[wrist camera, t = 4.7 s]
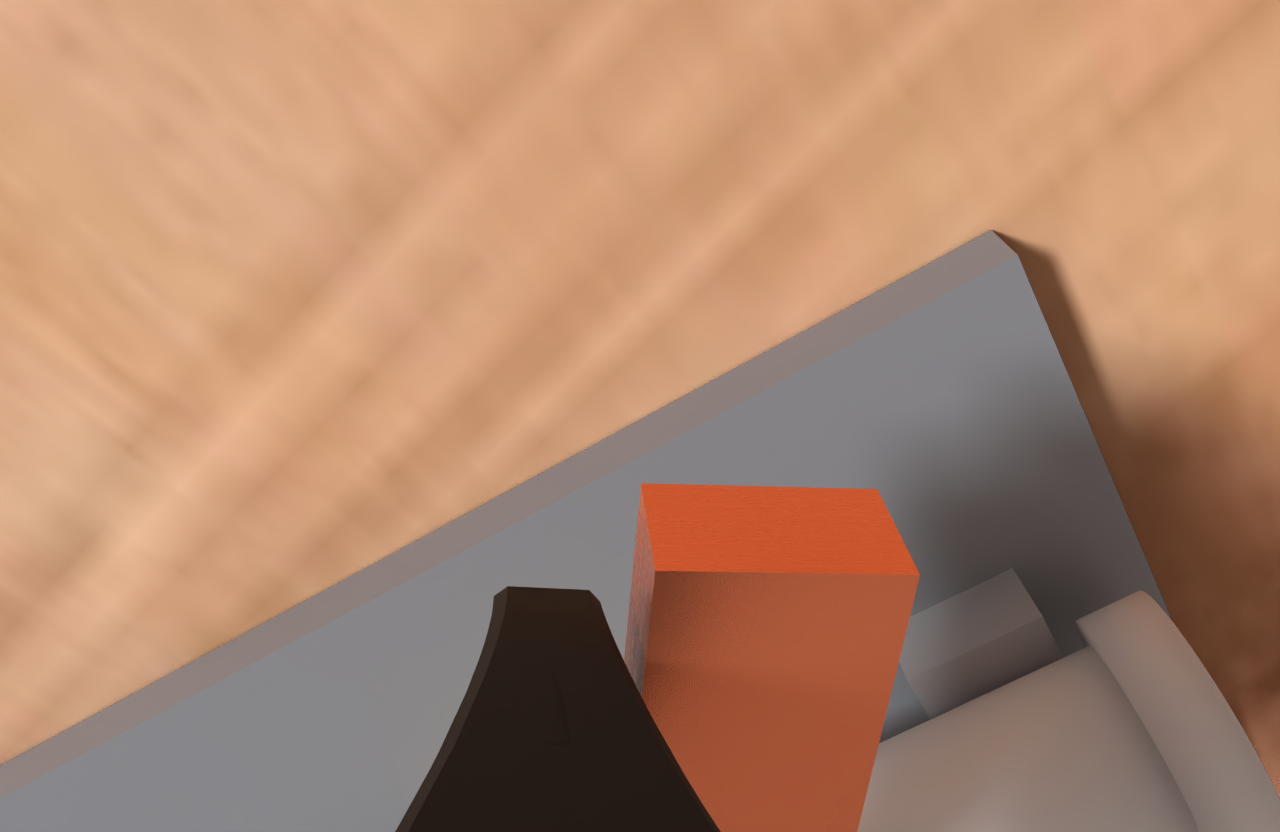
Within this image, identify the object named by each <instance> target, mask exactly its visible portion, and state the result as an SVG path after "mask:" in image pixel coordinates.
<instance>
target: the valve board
mask: <svg viewBox="0 0 1280 832" xmlns="http://www.w3.org/2000/svg"><path fill="white" fill-rule="evenodd" d="M641 483H647V484H689V485H730V486H771V487H812V488H854V489H877V490H878V492H879V494H880V496H881V498H882V500H883V502H884V504H885V506H886V508H887V510H888V512H889V514H890V516H891V518H892V520H893V522H894V524H895V526H896V528H897V530H898V532H899V534H900V536H901V538H902V540H903V542H904V544H905V546H906V548H907V550H908V552H909V554H910V556H911V558H912V560H913V562H914V564H915V566H916V568H917V570H918V572H919V574H920V577H919V582H918V586H917V590H916V594H915V598H914V602H913V606H912V610H911V614H910V618H909V622H908V627H907V631H906V635H905V639H904V643H903V647H902V651H901V655H900V659H899V663H898V667H897V672H896V676H895V680H894V684H893V688H892V692H891V696H890V700H889V704H888V708H887V712H886V717H885V721H884V725H883V729H882V733H881V737H880V741H879V745H878V749H877V753H876V757H875V762H874V766H873V770H872V774H871V778H870V782H869V786H868V790H867V794H866V798H865V802H864V806H863V811H862V815H861V819H860V823H859V827H858V831H857V832H1280V799H1279V797H1278V795H1277V792H1276V790H1275V788H1274V786H1273V784H1272V782H1271V780H1270V778H1269V776H1268V774H1267V772H1266V770H1265V768H1264V766H1263V764H1262V762H1261V760H1260V758H1259V757H1258V755H1257V753H1256V751H1255V749H1254V747H1253V746H1252V744H1251V742H1250V740H1249V738H1248V737H1247V735H1246V733H1245V731H1244V730H1243V728H1242V726H1241V724H1240V723H1239V721H1238V719H1237V718H1236V716H1235V714H1234V713H1233V711H1232V709H1231V708H1230V706H1229V704H1228V703H1227V701H1226V699H1225V698H1224V696H1223V695H1222V693H1221V691H1220V690H1219V688H1218V687H1217V685H1216V684H1215V682H1214V680H1213V679H1212V677H1211V676H1210V674H1209V673H1208V671H1207V670H1206V668H1205V667H1204V665H1203V664H1202V662H1201V661H1200V659H1199V658H1198V656H1197V655H1196V653H1195V652H1194V651H1193V649H1192V648H1191V646H1190V645H1189V643H1188V642H1187V641H1186V639H1185V638H1184V636H1183V635H1182V634H1181V632H1180V631H1179V630H1178V628H1177V627H1176V626H1175V624H1174V623H1173V621H1172V619H1171V616H1170V614H1169V612H1168V609H1167V607H1166V604H1165V602H1164V600H1163V597H1162V595H1161V593H1160V590H1159V588H1158V586H1157V583H1156V581H1155V578H1154V576H1153V574H1152V571H1151V569H1150V567H1149V564H1148V562H1147V560H1146V557H1145V555H1144V552H1143V550H1142V548H1141V545H1140V543H1139V541H1138V538H1137V536H1136V534H1135V531H1134V529H1133V526H1132V524H1131V522H1130V519H1129V517H1128V515H1127V512H1126V510H1125V507H1124V505H1123V503H1122V500H1121V498H1120V496H1119V493H1118V491H1117V489H1116V486H1115V484H1114V481H1113V479H1112V477H1111V474H1110V472H1109V470H1108V467H1107V465H1106V463H1105V460H1104V458H1103V455H1102V453H1101V451H1100V448H1099V446H1098V444H1097V441H1096V439H1095V437H1094V434H1093V432H1092V429H1091V427H1090V425H1089V422H1088V420H1087V418H1086V415H1085V413H1084V411H1083V408H1082V406H1081V403H1080V401H1079V399H1078V396H1077V394H1076V392H1075V389H1074V387H1073V384H1072V382H1071V380H1070V377H1069V375H1068V373H1067V370H1066V368H1065V366H1064V363H1063V361H1062V358H1061V356H1060V354H1059V351H1058V349H1057V347H1056V344H1055V342H1054V340H1053V337H1052V335H1051V332H1050V330H1049V328H1048V325H1047V323H1046V321H1045V318H1044V316H1043V314H1042V311H1041V309H1040V306H1039V304H1038V302H1037V299H1036V297H1035V295H1034V292H1033V290H1032V288H1031V285H1030V283H1029V280H1028V278H1027V276H1026V273H1025V271H1024V269H1023V266H1022V264H1021V261H1020V259H1019V257H1018V255H1017V254H1016V253H1015V252H1014V251H1013V250H1012V249H1011V248H1010V247H1009V246H1008V245H1007V244H1006V243H1005V242H1004V241H1003V240H1001V239H1000V238H999V237H998V236H997V235H996V234H995V233H994V232H993V231H992V230H990V231H988V232H986V233H984V234H982V235H980V236H979V237H977V238H975V239H973V240H971V241H969V242H968V243H966V244H964V245H962V246H960V247H958V248H956V249H955V250H953V251H951V252H949V253H947V254H945V255H943V256H942V257H940V258H938V259H936V260H934V261H932V262H931V263H929V264H927V265H925V266H923V267H921V268H919V269H918V270H916V271H914V272H912V273H910V274H908V275H906V276H905V277H903V278H901V279H899V280H897V281H895V282H894V283H892V284H890V285H888V286H886V287H884V288H882V289H881V290H879V291H877V292H875V293H873V294H871V295H869V296H868V297H866V298H864V299H862V300H860V301H858V302H857V303H855V304H853V305H851V306H849V307H847V308H845V309H844V310H842V311H840V312H838V313H836V314H834V315H833V316H831V317H829V318H827V319H825V320H823V321H821V322H820V323H818V324H816V325H814V326H812V327H810V328H808V329H807V330H805V331H803V332H801V333H799V334H797V335H796V336H794V337H792V338H790V339H788V340H786V341H784V342H783V343H781V344H779V345H777V346H775V347H773V348H771V349H770V350H768V351H766V352H764V353H762V354H760V355H759V356H757V357H755V358H753V359H751V360H749V361H747V362H746V363H744V364H742V365H740V366H738V367H736V368H734V369H733V370H731V371H729V372H727V373H725V374H723V375H722V376H720V377H718V378H716V379H714V380H712V381H710V382H709V383H707V384H705V385H703V386H701V387H699V388H697V389H696V390H694V391H692V392H690V393H688V394H686V395H685V396H683V397H681V398H679V399H677V400H675V401H673V402H672V403H670V404H668V405H666V406H664V407H662V408H660V409H659V410H657V411H655V412H653V413H651V414H649V415H648V416H646V417H644V418H642V419H640V420H638V421H636V422H635V423H633V424H631V425H629V426H627V427H625V428H624V429H622V430H620V431H618V432H616V433H614V434H612V435H611V436H609V437H607V438H605V439H603V440H601V441H599V442H598V443H596V444H594V445H592V446H590V447H588V448H587V449H585V450H583V451H581V452H579V453H577V454H575V455H574V456H572V457H570V458H568V459H566V460H564V461H562V462H561V463H559V464H557V465H555V466H553V467H551V468H550V469H548V470H546V471H544V472H542V473H540V474H538V475H537V476H535V477H533V478H531V479H529V480H527V481H525V482H524V483H522V484H520V485H518V486H516V487H514V488H513V489H511V490H509V491H507V492H505V493H503V494H501V495H500V496H498V497H496V498H494V499H492V500H490V501H488V502H487V503H485V504H483V505H481V506H479V507H477V508H476V509H474V510H472V511H470V512H468V513H466V514H464V515H463V516H461V517H459V518H457V519H455V520H453V521H451V522H450V523H448V524H446V525H444V526H442V527H440V528H439V529H437V530H435V531H433V532H431V533H429V534H427V535H426V536H424V537H422V538H420V539H418V540H416V541H414V542H413V543H411V544H409V545H407V546H405V547H403V548H402V549H400V550H398V551H396V552H394V553H392V554H390V555H389V556H387V557H385V558H383V559H381V560H379V561H378V562H376V563H374V564H372V565H370V566H368V567H366V568H365V569H363V570H361V571H359V572H357V573H355V574H353V575H352V576H350V577H348V578H346V579H344V580H342V581H341V582H339V583H337V584H335V585H333V586H331V587H329V588H328V589H326V590H324V591H322V592H320V593H318V594H316V595H315V596H313V597H311V598H309V599H307V600H305V601H304V602H302V603H300V604H298V605H296V606H294V607H292V608H291V609H289V610H287V611H285V612H283V613H281V614H279V615H278V616H276V617H274V618H272V619H270V620H268V621H267V622H265V623H263V624H261V625H259V626H257V627H255V628H254V629H252V630H250V631H248V632H246V633H244V634H242V635H241V636H239V637H237V638H235V639H233V640H231V641H230V642H228V643H226V644H224V645H222V646H220V647H218V648H217V649H215V650H213V651H211V652H209V653H207V654H205V655H204V656H202V657H200V658H198V659H196V660H194V661H193V662H191V663H189V664H187V665H185V666H183V667H181V668H180V669H178V670H176V671H174V672H172V673H170V674H169V675H167V676H165V677H163V678H161V679H159V680H157V681H156V682H154V683H152V684H150V685H148V686H146V687H144V688H143V689H141V690H139V691H137V692H135V693H133V694H132V695H130V696H128V697H126V698H124V699H122V700H120V701H119V702H117V703H115V704H113V705H111V706H109V707H107V708H106V709H104V710H102V711H100V712H98V713H96V714H95V715H93V716H91V717H89V718H87V719H85V720H83V721H82V722H80V723H78V724H76V725H74V726H72V727H70V728H69V729H67V730H65V731H63V732H61V733H59V734H58V735H56V736H54V737H52V738H50V739H48V740H46V741H45V742H43V743H41V744H39V745H37V746H35V747H33V748H32V749H30V750H28V751H26V752H24V753H22V754H21V755H19V756H17V757H15V758H13V759H11V760H9V761H8V762H6V763H4V764H2V765H0V832H395V831H396V830H397V828H398V826H399V824H400V822H401V821H402V819H403V817H404V815H405V813H406V811H407V810H408V808H409V806H410V804H411V802H412V801H413V799H414V797H415V795H416V793H417V792H418V790H419V788H420V786H421V784H422V783H423V781H424V779H425V777H426V775H427V774H428V772H429V770H430V768H431V766H432V764H433V762H434V760H435V758H436V756H437V754H438V752H439V750H440V748H441V746H442V744H443V742H444V740H445V737H446V735H447V733H448V731H449V729H450V726H451V724H452V722H453V720H454V718H455V716H456V713H457V711H458V709H459V707H460V705H461V702H462V700H463V698H464V696H465V694H466V691H467V689H468V686H469V684H470V681H471V679H472V676H473V673H474V671H475V668H476V666H477V663H478V660H479V658H480V655H481V652H482V649H483V646H484V643H485V639H486V636H487V632H488V628H489V624H490V620H491V616H492V609H493V599H494V596H495V595H496V594H497V593H499V592H500V591H502V590H503V589H504V588H506V587H507V586H517V587H538V588H559V589H580V590H590V591H591V592H592V593H593V594H594V595H595V597H596V598H597V599H598V600H599V601H600V603H601V606H602V609H603V612H604V615H605V617H606V620H607V623H608V625H609V628H610V630H611V633H612V635H613V637H614V640H615V642H616V644H617V647H618V649H619V651H620V653H621V656H622V658H623V660H624V654H625V644H626V634H627V623H628V613H629V603H630V592H631V582H632V572H633V562H634V551H635V541H636V531H637V520H638V510H639V500H640V489H641Z"/></svg>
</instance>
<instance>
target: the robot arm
mask: <svg viewBox="0 0 1280 832" xmlns="http://www.w3.org/2000/svg"><path fill="white" fill-rule="evenodd" d="M395 832H721V831H720V830H719V828H718V827H717V825H716V824H715V822H714V821H713V819H712V818H711V816H710V815H709V813H708V812H707V810H706V809H705V807H704V805H703V804H702V802H701V801H700V799H699V797H698V796H697V794H696V792H695V791H694V789H693V788H692V786H691V784H690V783H689V781H688V779H687V778H686V776H685V774H684V773H683V771H682V769H681V767H680V766H679V764H678V762H677V760H676V759H675V757H674V755H673V753H672V752H671V750H670V748H669V746H668V745H667V743H666V741H665V739H664V738H663V736H662V734H661V732H660V731H659V729H658V727H657V725H656V723H655V722H654V720H653V718H652V716H651V714H650V712H649V710H648V709H647V707H646V705H645V703H644V701H643V699H642V697H641V695H640V693H639V691H638V689H637V687H636V685H635V683H634V681H633V679H632V677H631V675H630V673H629V671H628V669H627V666H626V664H625V662H624V660H623V658H622V656H621V653H620V651H619V649H618V647H617V644H616V642H615V640H614V637H613V635H612V633H611V630H610V628H609V625H608V623H607V620H606V617H605V615H604V612H603V609H602V606H601V603H600V601H599V600H598V599H597V598H596V597H595V595H594V594H593V593H592V592H591V591H590V590H580V589H559V588H538V587H517V586H507V587H506V588H504V589H503V590H502V591H500V592H499V593H497V594H496V595H495V596H494V599H493V609H492V616H491V620H490V624H489V628H488V632H487V636H486V639H485V643H484V646H483V649H482V652H481V655H480V658H479V660H478V663H477V666H476V668H475V671H474V673H473V676H472V679H471V681H470V684H469V686H468V689H467V691H466V694H465V696H464V698H463V700H462V702H461V705H460V707H459V709H458V711H457V713H456V716H455V718H454V720H453V722H452V724H451V726H450V729H449V731H448V733H447V735H446V737H445V740H444V742H443V744H442V746H441V748H440V750H439V752H438V754H437V756H436V758H435V760H434V762H433V764H432V766H431V768H430V770H429V772H428V774H427V775H426V777H425V779H424V781H423V783H422V784H421V786H420V788H419V790H418V792H417V793H416V795H415V797H414V799H413V801H412V802H411V804H410V806H409V808H408V810H407V811H406V813H405V815H404V817H403V819H402V821H401V822H400V824H399V826H398V828H397V830H396V831H395Z"/></svg>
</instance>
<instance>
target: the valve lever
mask: <svg viewBox="0 0 1280 832" xmlns="http://www.w3.org/2000/svg"><path fill="white" fill-rule="evenodd" d="M919 577H920V574H919V572H918V570H917V568H916V566H915V564H914V562H913V560H912V558H911V556H910V554H909V552H908V550H907V548H906V546H905V544H904V542H903V540H902V538H901V536H900V534H899V532H898V530H897V528H896V526H895V524H894V522H893V520H892V518H891V516H890V514H889V512H888V510H887V508H886V506H885V504H884V502H883V500H882V498H881V496H880V494H879V492H878V490H877V489H854V488H812V487H771V486H730V485H689V484H647V483H641V489H640V500H639V510H638V520H637V531H636V541H635V551H634V562H633V572H632V582H631V592H630V603H629V613H628V623H627V634H626V644H625V654H624V662H625V664H626V666H627V669H628V671H629V673H630V675H631V677H632V679H633V681H634V683H635V685H636V687H637V689H638V691H639V693H640V695H641V697H642V699H643V701H644V703H645V705H646V707H647V709H648V710H649V712H650V714H651V716H652V718H653V720H654V722H655V723H656V725H657V727H658V729H659V731H660V732H661V734H662V736H663V738H664V739H665V741H666V743H667V745H668V746H669V748H670V750H671V752H672V753H673V755H674V757H675V759H676V760H677V762H678V764H679V766H680V767H681V769H682V771H683V773H684V774H685V776H686V778H687V779H688V781H689V783H690V784H691V786H692V788H693V789H694V791H695V792H696V794H697V796H698V797H699V799H700V801H701V802H702V804H703V805H704V807H705V809H706V810H707V812H708V813H709V815H710V816H711V818H712V819H713V821H714V822H715V824H716V825H717V827H718V828H719V830H720V831H721V832H857V831H858V827H859V823H860V819H861V815H862V811H863V806H864V802H865V798H866V794H867V790H868V786H869V782H870V778H871V774H872V770H873V766H874V762H875V757H876V753H877V749H878V745H879V741H880V737H881V733H882V729H883V725H884V721H885V717H886V712H887V708H888V704H889V700H890V696H891V692H892V688H893V684H894V680H895V676H896V672H897V667H898V663H899V659H900V655H901V651H902V647H903V643H904V639H905V635H906V631H907V627H908V622H909V618H910V614H911V610H912V606H913V602H914V598H915V594H916V590H917V586H918V582H919Z"/></svg>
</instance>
